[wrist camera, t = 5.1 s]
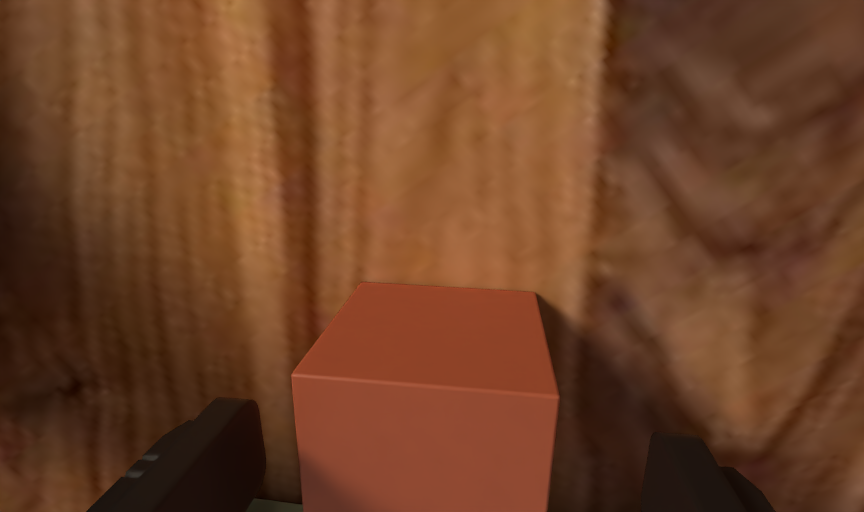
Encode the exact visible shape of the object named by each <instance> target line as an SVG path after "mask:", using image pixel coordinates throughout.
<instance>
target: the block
mask: <svg viewBox="0 0 864 512" xmlns="http://www.w3.org/2000/svg"><path fill="white" fill-rule="evenodd" d="M291 381H292V392H293V403H294V414H295V425H296V437H297V448H298V459H299V470H300V481H301V492H302V503H303V512H547V511H548V502H549V493H550V484H551V476H552V467H553V458H554V449H555V441H556V432H557V423H558V414H559V406H560V394H559V390H558V386H557V381H556V377H555V373H554V369H553V365H552V360H551V356H550V352H549V348H548V344H547V339H546V335H545V331H544V327H543V322H542V318H541V314H540V310H539V306H538V301H537V297H536V294H535V292H524V291H507V290H490V289H473V288H456V287H439V286H422V285H405V284H388V283H371V282H361V283H360V284H359V286H358V287H357V288H356V290H355V291H354V292H353V294H352V295H351V296H350V298H349V299H348V300H347V302H346V303H345V304H344V305H343V307H342V308H341V309H340V311H339V312H338V313H337V315H336V316H335V317H334V319H333V320H332V321H331V323H330V324H329V325H328V326H327V328H326V329H325V330H324V332H323V333H322V334H321V336H320V337H319V338H318V340H317V341H316V342H315V344H314V345H313V346H312V348H311V349H310V350H309V351H308V353H307V354H306V355H305V357H304V358H303V359H302V361H301V362H300V363H299V365H298V366H297V367H296V369H295V370H294V371H293V372H292V375H291Z"/></svg>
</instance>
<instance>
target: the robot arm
mask: <svg viewBox="0 0 864 512" xmlns="http://www.w3.org/2000/svg"><path fill="white" fill-rule="evenodd" d="M265 469H266V455H265V448H264V441H263V434H262V428H261V421H260V414H259V408H258V405H257V403H256V402H255V401H254V400H248V399H235V398H221V397H219V398H216V399H215V400H213V401H212V402H211V403H210V404H209V405H208V406H207V407H206V408H205V409H204V410H203V412H202V413H201V414H200V415H199V416H198V417H197V418H196V419H195V420H194V421H193V420H188V421H187V422H185V423H183V424H182V425H180V426H178V427H177V428H175V429H174V430H172V431H170V432H169V433H167V434H165V435H164V436H162V437H161V438H160V439H159V440H158V441H157V442H156V443H155V444H154V445H153V446H152V447H151V448H150V449H149V450H148V451H147V452H146V453H145V454H144V455H143V458H142V460H138V461H137V462H136V463H135V464H134V465H133V466H132V467H131V468H130V469H129V470H128V471H127V472H126V475H125V477H121V478H120V479H119V480H118V481H117V482H116V483H115V484H114V485H113V486H112V487H111V488H110V489H109V490H108V491H107V492H106V493H105V494H104V495H103V496H102V497H100V498H99V499H98V500H97V501H96V502H95V503H94V504H93V505H92V506H91V507H90V508H89V509H88V510H87V511H86V512H246V510H247V509H248V507H249V506H250V504H251V502H252V501H253V499H254V498H255V496H256V494H257V493H258V491H259V489H260V487H261V485H262V482H263V479H264V475H265ZM641 512H775V510H774V509H773V507H772V506H771V505H770V503H769V502H768V500H767V499H766V497H765V496H764V494H763V493H762V491H760V490H759V489H758V488H757V487H756V486H754V485H753V484H752V483H751V482H750V481H749V480H747V479H746V478H745V477H744V476H743V475H741V474H740V473H739V472H738V471H737V470H736V469H734V468H732V467H720V466H718V464H717V462H716V461H715V459H714V457H713V456H712V454H711V453H710V451H709V449H708V448H707V446H706V445H705V443H704V441H703V440H702V439H701V438H700V437H699V436H697V435H686V434H673V433H661V432H655V433H653V435H652V436H651V439H650V445H649V451H648V457H647V463H646V469H645V475H644V481H643V487H642V493H641Z"/></svg>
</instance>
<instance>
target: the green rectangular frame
mask: <svg viewBox="0 0 864 512" xmlns="http://www.w3.org/2000/svg"><path fill="white" fill-rule="evenodd" d="M246 512H303V504H295V503H286V502H279V501H272V500H264V499H255V498H254V499H253V501H252V502H251V504H250V506H249V507H248V509H247V510H246Z"/></svg>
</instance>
